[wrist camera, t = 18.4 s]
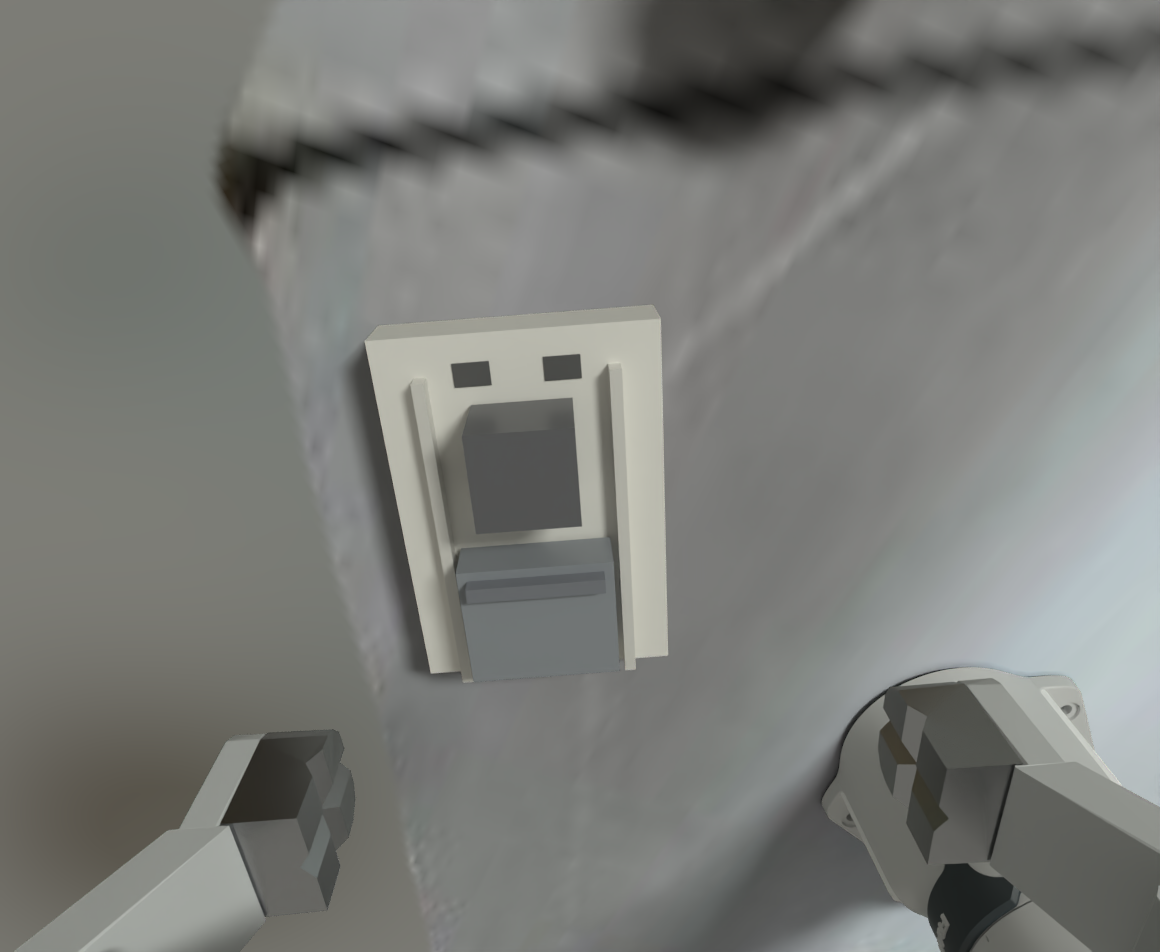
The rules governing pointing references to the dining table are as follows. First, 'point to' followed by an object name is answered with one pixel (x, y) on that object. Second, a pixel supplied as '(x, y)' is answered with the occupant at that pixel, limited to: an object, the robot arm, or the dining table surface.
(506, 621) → the cover
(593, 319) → the socket plate
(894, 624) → the dining table surface
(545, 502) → the plug
